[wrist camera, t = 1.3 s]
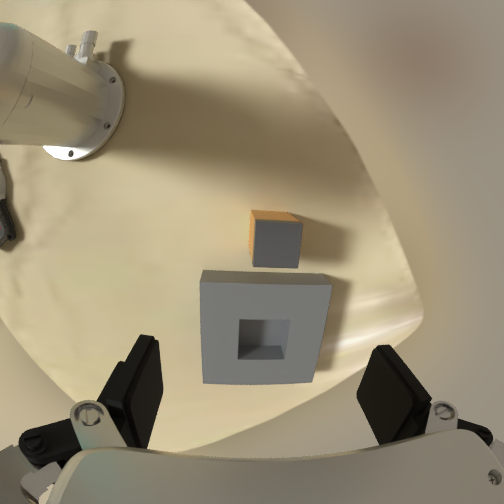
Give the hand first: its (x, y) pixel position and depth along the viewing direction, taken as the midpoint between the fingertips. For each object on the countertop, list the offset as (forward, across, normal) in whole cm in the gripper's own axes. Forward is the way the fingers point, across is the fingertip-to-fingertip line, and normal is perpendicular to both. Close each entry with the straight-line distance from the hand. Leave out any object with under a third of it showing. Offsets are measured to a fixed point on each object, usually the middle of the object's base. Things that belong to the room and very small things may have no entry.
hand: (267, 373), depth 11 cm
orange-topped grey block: (+21, -2, -2) cm, 21 cm away
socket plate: (+21, -2, +10) cm, 23 cm away
